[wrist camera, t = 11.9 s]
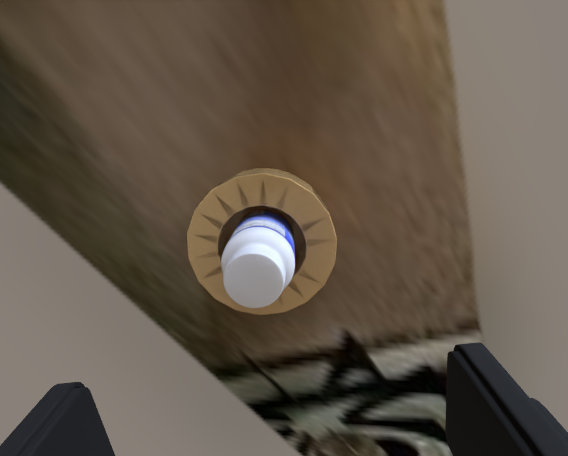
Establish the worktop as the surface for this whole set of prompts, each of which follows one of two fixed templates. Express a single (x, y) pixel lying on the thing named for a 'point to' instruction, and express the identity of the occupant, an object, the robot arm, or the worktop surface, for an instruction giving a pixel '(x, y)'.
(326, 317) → the worktop surface
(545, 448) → the robot arm
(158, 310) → the worktop surface
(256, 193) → the tape roll
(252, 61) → the worktop surface
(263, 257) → the pill bottle
